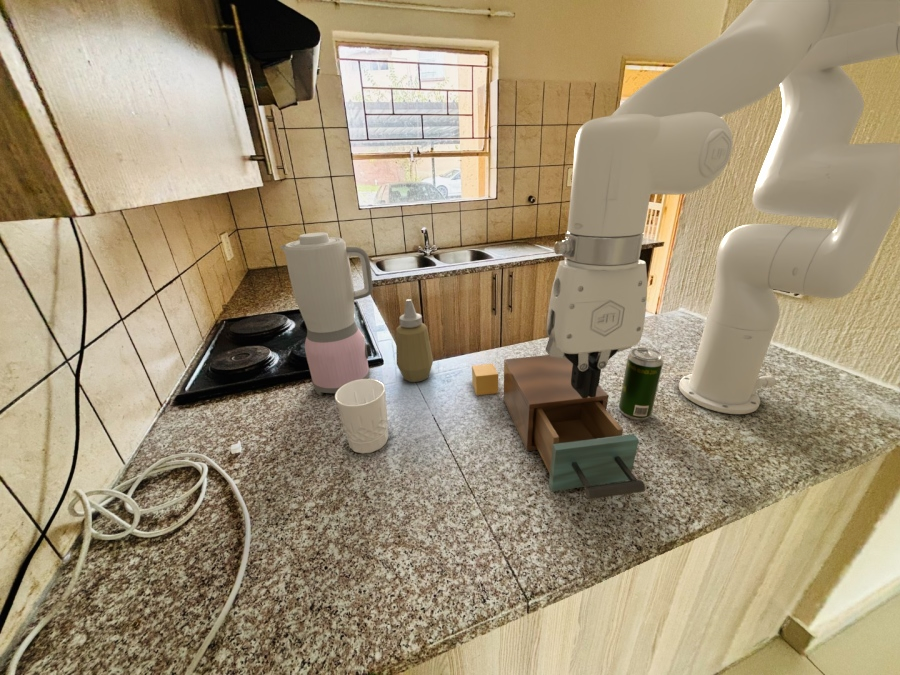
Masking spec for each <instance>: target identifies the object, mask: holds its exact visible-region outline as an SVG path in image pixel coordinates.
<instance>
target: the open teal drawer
mask: <svg viewBox="0 0 900 675" xmlns="http://www.w3.org/2000/svg"><path fill="white" fill-rule="evenodd" d="M623 432H624V428H623V427H622V426H621V425H620V424H619V422H617V420H616V419H615V418H614V417H613V416H612V415H611V414H610V412H609V411H608V410H607V409H605V408H604V407H603V406H602V404H601V403H600V402H599V401H592V402H583V403H574V404H566V405H557V406H549V407H540V408H534V416H533V432H532V439H533V441H534V443H535V445H536V447H537V449H538V450H537V452H538V453H539V456H540V457H541V460H542V461H543V464H544V465H545V467H546V469H547V471H548V473H549V478H548V479H549V480H548V481H549V482H548V486H549V488H550V490H551V492H555V491H564V490H570V489H576V488H584V493H585V497H586V498H587V499H588V500H596V499H603V498H604V499H605V498H610V497H617V496H624V495H625V496H626V495H631V494H638V493H644V492H645V491H646V486H645V485H646V484H645V483H644V481H643V480H641V479H637V478H636V476H635V474H634V473H633V468H634V464H635V459H636V455H637V450H638V446H639V443H640V442H639V441H640V440H639V438H638V437H637V435H635V433H631V434H623Z"/></svg>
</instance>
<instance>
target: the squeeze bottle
mask: <svg viewBox="0 0 900 675" xmlns="http://www.w3.org/2000/svg"><path fill="white" fill-rule="evenodd" d="M404 305H405V306H404V314H401V315H400V316H399V325H398V326H397V327H396V329H395V334H396V336H395V338H396V339H395V340H396V343H395V344H396V366H397V367H398V370H399V371H400V373H401V376H402V378H403V380H405V381H407V382H409V383H419V382H423V381H425V380H427V379H428V378H429V376H430V374H431V370H432V367H433V363H434V358H433V357H434V356H433V352H432V347H431V341H430V336H429V331H428V326H427V325H426V323H423V316H422V314H420V313H417V312H416V308H415V305H414V302H413V300H412V299H411V298H407V299H405V304H404Z"/></svg>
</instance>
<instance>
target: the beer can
mask: <svg viewBox="0 0 900 675" xmlns="http://www.w3.org/2000/svg"><path fill="white" fill-rule="evenodd" d="M663 366H664V355H663V353H661V352H660V351H659V350H656V349H654V348H650V347H641V346H640V347H634V348H631V349H630V353H629V354H627V360H626V366H625V369H624V376H623V380H622V386H621V391H620V392H621V393H620V398H619V403H618V408H619V411H620V413H621V414H622V415H623V416H624V417H626V418H627V419H630V420H635V421H645V420H647V419H648V418H650V417H651V415H652V414H653V410H654V405H655V402H656V401H655V400H656V396H657V392H658V388H659V384H660V381H661V380H660V379H661V375H662V372H663Z"/></svg>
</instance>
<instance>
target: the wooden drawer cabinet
mask: <svg viewBox="0 0 900 675" xmlns="http://www.w3.org/2000/svg"><path fill="white" fill-rule="evenodd" d="M572 367H573V363H571V362H570V361H569V360H568V359H567V358H556V357H551V356H550V355H549V354H545V355H534V356H525V357H523V356H522V357H516V358H515V357H514V358H505V359H504V360H503V398H502V399H503V402H504V404H505V407H506V408H507V411H508V413H509V415H510V417H511V419H512V421H513V424H514V426H515V428H516V431H517V433H518V435H519V437H520V439H521V442H522V443H523V444H522V445H523V446H524V448H525V451H526V452H532V451H538V449H537V447H536V445H535V443H534V441H533V439H532V432H533V416H534V408H540V407H549V406H557V405H566V404H574V403H583V402H592V401H599V402H600V403H601V404H602V406H603V407H604V408H605V409H606V410H607V409H608V404H609V394H608V393H607V392H606V391H605V390H604V389H603V388H602V387H601V386H600V385H599V386H598V387H597V391H596V396H595V397H590V396H588V397H587V398H582V397H581V396H580V395H579V393H578V392H577V391H576V390H575V389H574V388H573V387H572V385H571V376H572Z"/></svg>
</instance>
